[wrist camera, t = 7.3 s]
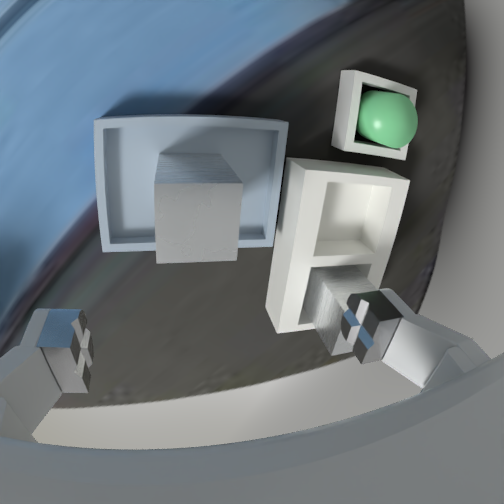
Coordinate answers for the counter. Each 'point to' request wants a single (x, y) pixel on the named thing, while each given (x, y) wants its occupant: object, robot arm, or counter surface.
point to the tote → (183, 141)
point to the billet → (196, 208)
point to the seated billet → (332, 301)
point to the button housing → (350, 107)
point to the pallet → (330, 229)
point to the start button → (386, 118)
